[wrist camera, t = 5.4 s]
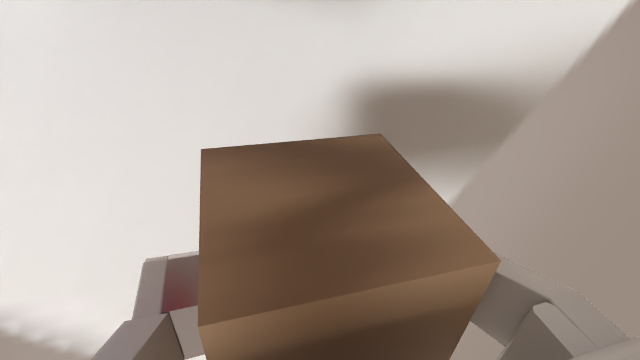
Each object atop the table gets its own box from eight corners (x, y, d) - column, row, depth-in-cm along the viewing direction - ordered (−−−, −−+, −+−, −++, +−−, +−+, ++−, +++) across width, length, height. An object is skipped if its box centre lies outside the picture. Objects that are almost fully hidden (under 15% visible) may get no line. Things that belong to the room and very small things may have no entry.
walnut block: (380, 133, 10) (501, 261, 6) (359, 252, 12) (431, 393, 8) (201, 149, 8) (197, 327, 4) (223, 278, 11) (233, 456, 7)
